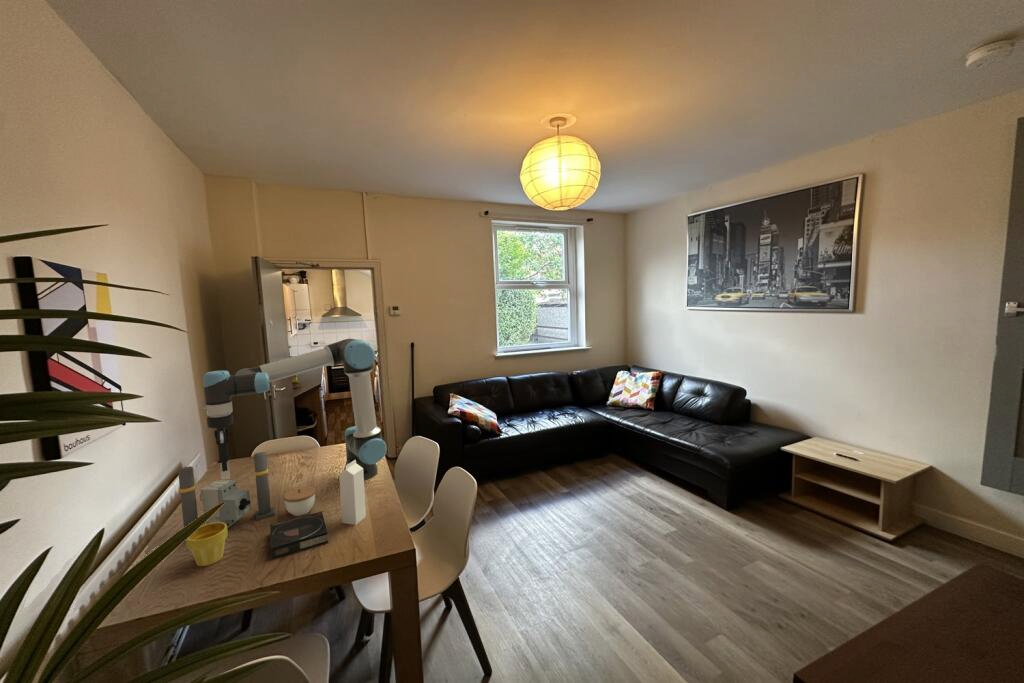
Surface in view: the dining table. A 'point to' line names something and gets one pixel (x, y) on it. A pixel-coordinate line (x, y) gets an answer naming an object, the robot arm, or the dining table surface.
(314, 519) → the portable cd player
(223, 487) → the circuit breaker
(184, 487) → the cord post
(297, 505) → the lidded jar
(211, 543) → the plant pot
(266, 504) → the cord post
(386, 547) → the dining table surface
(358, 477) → the milk
